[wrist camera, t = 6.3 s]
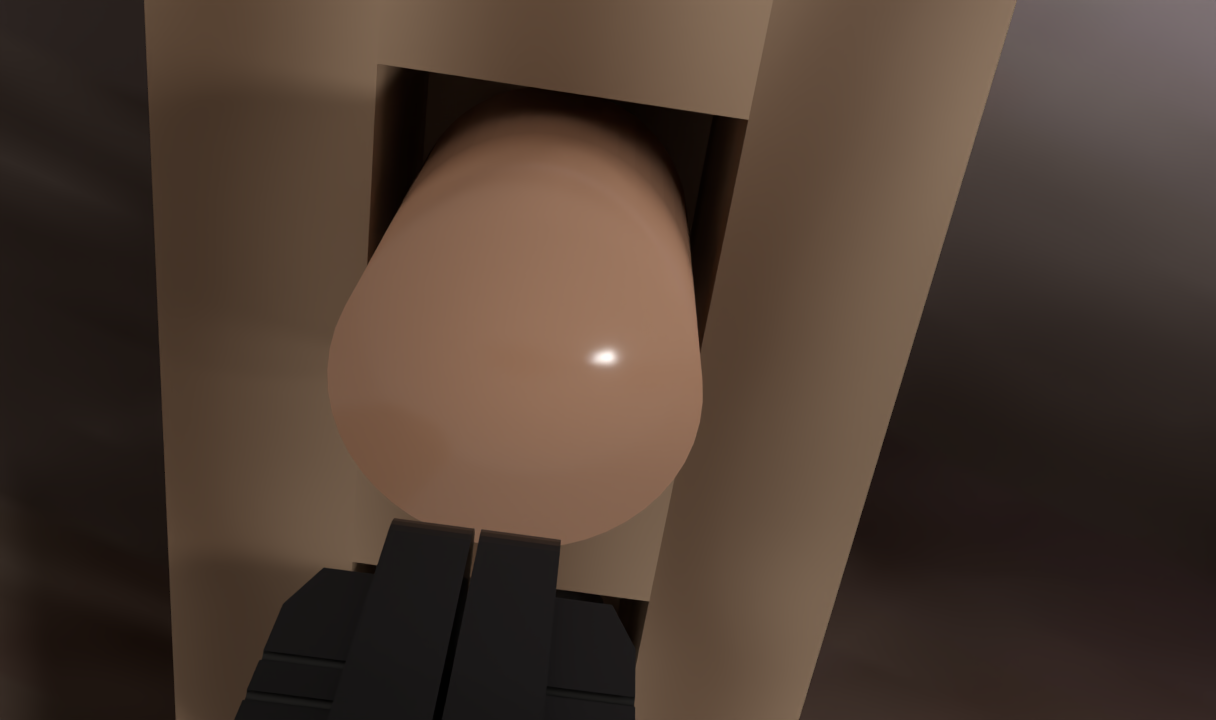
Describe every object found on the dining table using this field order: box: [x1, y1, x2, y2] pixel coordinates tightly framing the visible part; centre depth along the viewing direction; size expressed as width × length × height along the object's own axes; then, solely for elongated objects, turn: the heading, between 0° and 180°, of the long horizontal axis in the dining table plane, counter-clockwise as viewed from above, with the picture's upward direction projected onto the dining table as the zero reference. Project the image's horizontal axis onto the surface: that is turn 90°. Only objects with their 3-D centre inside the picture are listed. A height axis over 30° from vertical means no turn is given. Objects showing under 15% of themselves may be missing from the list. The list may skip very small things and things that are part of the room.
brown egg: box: [327, 87, 703, 545], centre depth 17 cm, size 5×5×6 cm
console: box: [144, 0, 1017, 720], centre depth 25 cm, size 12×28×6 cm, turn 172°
